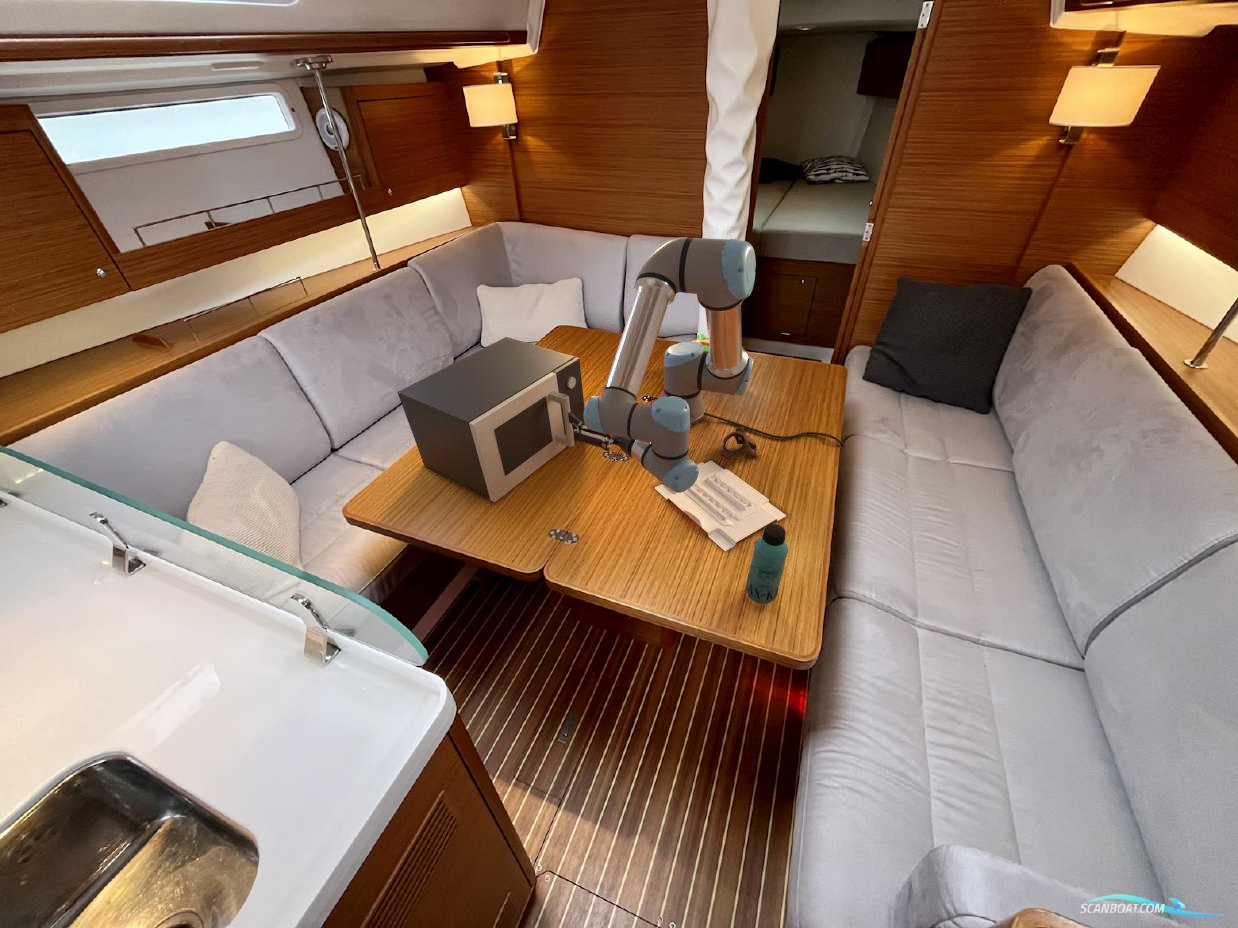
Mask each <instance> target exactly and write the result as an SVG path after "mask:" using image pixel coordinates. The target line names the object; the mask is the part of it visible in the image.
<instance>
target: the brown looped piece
mask: <svg viewBox="0 0 1238 928" xmlns="http://www.w3.org/2000/svg"><path fill="white" fill-rule="evenodd" d="M733 437H734V439H735V442H736V444H737V445H741V446H739V447H738V448H736V449H729V448H728V447H726V444H727V442H728V441H729V440H730V439H731V438H733ZM722 443H723V444H722V446H721V447H722V449H721V451H722V455H723V456H724V457H726V458H729V459H736V458H740V459H744V458H745V457H744V452H745V453H746V452H752V451H754V455H755V456H754V457H755V458H758V447H757V444H756V442H755V440H754V439H753V438H752V436H751V435H749V434H746V432H745V428H743V427H741V426H737V427H736V428H735V431H732V432H730V433H728V434H727V435H726V436H725V437H724V438H723V440H722Z"/></svg>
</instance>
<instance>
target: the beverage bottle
mask: <svg viewBox="0 0 1238 928" xmlns="http://www.w3.org/2000/svg"><path fill="white" fill-rule="evenodd" d="M786 534H787V531H786V529H785V528H784V526H782V525H780V524H778V523H769V524H767V525H765V526H764V528H763V532H762V535H761V536H759V537H757V539H756V540H755V542H754V547H753V552H752V557H751V561H750V562H749V563H750V564H749V570H748V573H747V579H746V583H745V584H746V585H745V591H746V595H747V596H748V598H749V599H750V600H751V601H752V602H753V603H756V604H759V605H769V604H772V603H773V602H774V601H775V600H776V599H777V597H778V594H779V590H780V586H781V582H782V578H783V573H784V570H785V565H786V560H787V556H788V553H789V545H788V544H787V542H786Z"/></svg>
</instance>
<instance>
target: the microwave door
mask: <svg viewBox="0 0 1238 928" xmlns="http://www.w3.org/2000/svg"><path fill="white" fill-rule="evenodd" d="M560 404H562V407H563V414H564V422H565V429H566V435H565V434H564V426H563V419H562V412H561V405H560ZM569 412H570V404H569V396H568V395H565V394H562V393H559V391H558V384H557V377H556V373H553V372H551V373H549V374H548V375H546V376H545V377H543V378H541V379H540V380H538V381H536V382H535V383H533V384H532V385H530V386H528V387H527V388H525V389H523V390H522V391H520V392H519V393H517V394H515V395H514V396H512V397H510V398H509V399H507V400H505V401H504V402H502V403H501V404H499V405H497V406H496V407H494V408H492V409H491V410H489V411H488V412H486V413H484V414H483V415H481V416H479V417H478V418H476V419H475V420H473V421H471V422H470V423H469V425H470V429H471V432H472V436H473V440H474V443H475V447H476V450H477V454H478V457H479V461H480V465H481V468H482V472H483V475H484V479H485V482H486V486H487V490H488V493H489V497H490V500H489V501H491V502H493V503H496V502H497V501H499V500H500V499H501V498H502V497H504V496H505V495H506V494H508V492H510V491H511V490H512V489H514V488H515V487H516V486H517V485H519V484H521V483H522V482H523V481H524V480H526V479H527V478H528V477H530V476H531V475H532V474H534V472H536V471H538V469H540V468H541V467H542V466H543V465H545V464H546V463H547V462H549V461H551V459H552V458H554V457H555V456H556V455H558V454H559V453H560V452H562V451H563V450H564V449H566V447H569V448H572V447H575V440H574V435H573V428H572V424H571V423H569V418H568V413H569Z"/></svg>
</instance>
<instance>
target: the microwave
mask: <svg viewBox="0 0 1238 928" xmlns="http://www.w3.org/2000/svg"><path fill="white" fill-rule="evenodd" d="M581 369H582V368H581V361H580V358H579V357H576V356H574V355H571V354H567V353H564V352H561V351H557V350H553V349H551V348H547V347H543V346H540V345H537V344H533V343H529V342H525V341H522V340H519V339H515V338H512V337H508V336H505V337H503V338H501V339H499V340H496V341H495V342H493V343H491V344H490V345H489V344H488V345H487V346H486V347H484V348H483V347H482V349H480V350H477V351H475V352H474V353H471V354H470V355H467V356H465V357H463V358H461V359H459V360H457V361H456V362H454V363H451V364H449V365H448V366H446V367H444V368H441V369H440V370H438V371H436V372H433V373H432V374H430V375H428V376H426V377H424V378H421V379H420V380H418V381H416V382H414V383H412V384H410V385H408V386H406V387H404V388H403V389H402V388H401V389H400V390H398V391H396V392H397V395H398V398H399V401H400V404H401V406H402V409H403V412H404V415H405V418H406V420H407V423H408V425H409V428H410V431H411V433H412V437H413V438H414V441H415V445H416V447H417V450H418V452H419V455H420V457H421V461H422V463H423V465H424V467H425V468H427V469H429V470H431V471H433V472H435V473H437V474H439V475H440V476H443V477H444V478H447V479H449V480H450V481H453V482H454V483H456V484H458V485H460V486H462V487H464V488H466V489H468V491H469V490H470V491H471V492H473V493H476V494H477V495H479V496H481V497H483V498H485V499H487V500H489V501H491V500H490V497H489V493H488V490H487V486H486V482H485V479H484V475H483V472H482V468H481V465H480V461H479V457H478V454H477V450H476V447H475V443H474V440H473V436H472V432H471V429H470V425H469V423H470V422H471V421H473V420H475V419H476V418H478V417H479V416H481V415H483V414H484V413H486V412H488V411H489V410H491V409H492V408H494V407H496V406H497V405H499V404H501V403H502V402H504V401H505V400H507V399H509V398H510V397H512V396H514V395H515V394H517V393H519V392H520V391H522V390H523V389H525V388H527V387H528V386H530V385H532V384H533V383H535V382H536V381H538V380H540V379H541V378H543V377H545V376H546V375H548V374H549V373H551V372H553V373H556V377H557V384H558V391H559V393H562V394H565V395H568V396H569V404H570V412H571V413H572V414H574V415H575V416H576V417H577V418H579V419H580V420H581V421H582V422H583V423H584V409H585V398H584V390H583V380H582V370H581ZM560 405H561V412H562V419H563V426H564V434H565V435H566V429H565V422H564V414H563V407H562V404H560ZM584 426H586V425H585V423H584ZM573 430H574V429H573ZM573 435H574V431H573Z"/></svg>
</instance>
